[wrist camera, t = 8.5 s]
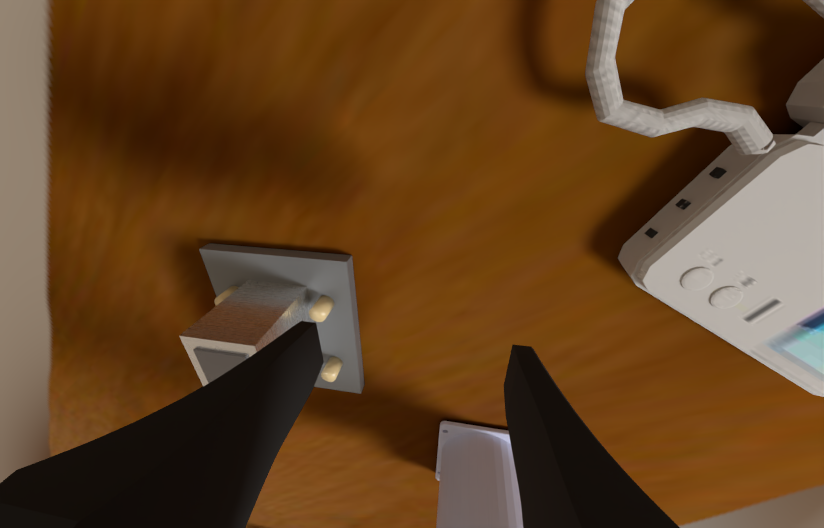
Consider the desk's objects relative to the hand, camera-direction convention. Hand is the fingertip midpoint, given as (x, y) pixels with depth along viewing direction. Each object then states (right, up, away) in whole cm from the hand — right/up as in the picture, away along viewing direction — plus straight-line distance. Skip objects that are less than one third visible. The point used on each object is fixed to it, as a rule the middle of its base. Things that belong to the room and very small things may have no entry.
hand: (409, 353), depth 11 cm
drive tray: (-10, -1, +13) cm, 16 cm away
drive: (-10, -2, +12) cm, 16 cm away
